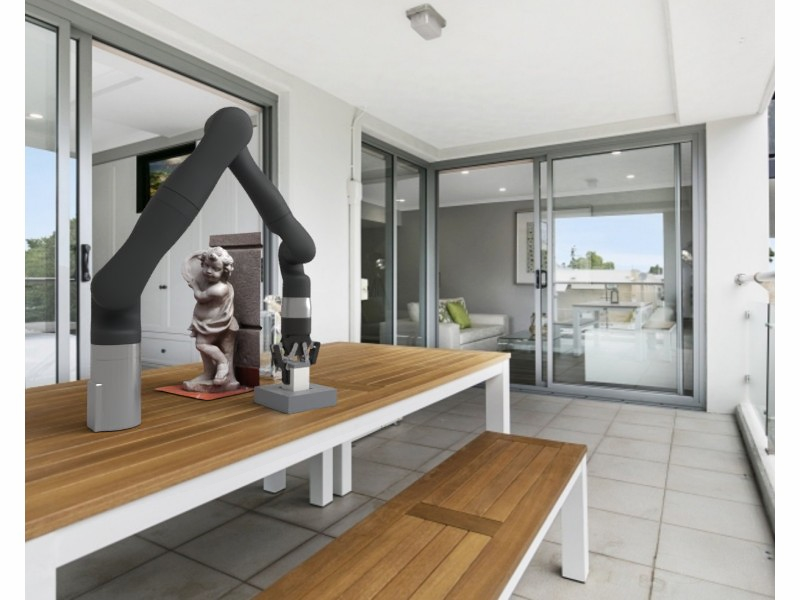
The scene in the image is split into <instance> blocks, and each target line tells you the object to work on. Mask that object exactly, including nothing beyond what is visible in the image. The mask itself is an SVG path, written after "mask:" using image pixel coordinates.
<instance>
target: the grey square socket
mask: <svg viewBox="0 0 800 600" xmlns="http://www.w3.org/2000/svg"><path fill="white" fill-rule="evenodd" d="M253 391H254V392H253V393H254V394H253V395H254V396H253V397H254V398H253V403H255V404H259V405H260V406H264V407H266V408H270V409H273V410H276V411H279V412H281V413H284V414H287V415H291V414H292V415H293V414H296V413H302V412H307V411H312V410H318V409H322V408H328V407H333V406H338V389H337V388H333V387H329V386H325V385H322V384H317V383H313V382H311V381H309V389H307V390H301V391H294V392H292V391H289V390H285V389H282V382H279V383H273V384H272V383H271V384H265V385H260V386H256V387H254V390H253Z"/></svg>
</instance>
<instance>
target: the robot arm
mask: <svg viewBox="0 0 800 600" xmlns="http://www.w3.org/2000/svg"><path fill="white" fill-rule="evenodd" d="M253 134H254V124H253V121H252V119H251V117H250V115H249V114H248V113H247V112H246V111H245V110H244V109H242V108H240V107H238V106H237V107H236V106H224V107H222V108H219V109H217V110H216V111H215V112H214V113H213V114H211V115H210V116H209V117H207V119H206V120H205V123H204V126H203V136H202V137H201V139H200V141H199V142H198V144H197V146H196V147H195V148H194V150H193V151H191V153H190V154H189V155H188V156H187V157H186V158H185V159H184V160H183V161H182V162H181V163H180V164H179V165H177V167H175V168H174V170H173V171H171V172H170V173H169V175H168V176H167V177H166V178H165V179H164V180H163V181H162V183H161V184H160V186H159V187H158V188H157V189H156V191H155V192H154V194H153V195H152V196H151V197H150V199H149V201H148V202H147V204H146V205H145V208H143V210H142V212H141V214H140V216H139V217H138V219H137V221H136V222H135V225H134V226H133V229H132V230H131V233H130V234H129V236H128V237H127V239H126V240H125V242H124V243H123V244H122V246H120V248H119V249H118V250H117V251H116V252H115V253H114V255H113V256H112V257H111V258H110V259H109V260H108V261H107V262H106V263H105V264H104V265H103V266H102V267H101V268H100V269H99V270H98V271H97V272H96V273H95V274H94V275H93V277H92V279H91V281H90V284H89V285H90V286H89V287H90V288H89V289H90V290H89V291H90V332H89V333H90V335H89V336H90V337H89V340H90V341H89V342H90V368H89V369H90V370H89V371H90V372H89V373H90V375H89V376H90V377H89V378H90V379H88V380H87V381H86V385H87V386H86V387H87V390H86V392H87V393H86V395H87V396H86V399H87V400H86V426H87V427H88V428H89V429H90V430H92V431H93V432H94V433H97V432H108V431H109V432H111V431H121V430H126V429H130V428H135V427H137V426H139V425H140V424H141V423H142V421H141V420H142V419H141V418H142V314H141V313H142V310H141V309H142V306H141V305H142V295H143V292H144V290H145V288H146V286H147V284H148V282H149V280H150V278H151V277H152V274H153V273H154V271H155V270H156V268H157V266H158V265H159V263H160V261H161V260H162V259H163V258H164V257H165V255H167V253H168V252H169V251H170V250H171V249H172V248H173V247H174V245H176V243H177V242H178V241H179V240H180V239H181V237H182V236H183V235H184V234H185V232H186V231H187V230H188V229H189V227H190V226H191V225H192V223H193V222H194V221H195V219H196V217H198V215H199V213H200V212H201V210H202V209H203V207H204V205H205V204H206V202H207V201H208V199H209V197H211V194H212V192H213V191H214V190H215V188H216V186H217V184H218V182H219V180H220V179H221V177H222V176H223V174H224V173H225V171H226V170H227V169H229V170H230V172H231V174H232V175H233V176H234V178H235V179H236V180H237V181H238V183H239V184H240V186H241V187H242V189H243V191H244V192H245V193H246V195H247V196H248V198H249V200H250V202H251V203H252V204H253V206H254V208H255V209H256V211H257V213H258V215H259V216H260V218H261V220H262V221H263V223H264V225H265V226H266V228H267V229H268V230H269V232H270V233H271V234H274V235H277V236H278V237H279V238H280V239H281V241H280V243H279V246H278V251H277V259H278V264H279V270H280V275H281V280H282V287H281V288H282V289H281V292H282V294H281V295H282V296H281V297H282V299H281V304H280V306H281V307H280V334H281V339H280V340H279V342H277V343H271V344H269V350H270V353H271V357H272V362H273V366H274V367H276V368H280V369H281V383H282V382H283V384H285V385H290V370H289V369H290V366H291V363H292V361H295V359H294V358H295V357H296V356H297V358H298V360H299V361H302V362H307V363H309V368H310V367H311V366H313V365H316V364H317V362H318V356H319V352H320V349H321V342H320V341H316V340H313V339H312V338H311V334H312V300H311V297H312V296H311V293H312V292H311V291H312V290H311V289H312V287H311V286H312V285H311V284H312V283H311V282H312V281H311V278H310V276H309V275H308V274H306V273H305V268H304V264H309V263H310V262H312V261H313V260H314V259H315V257H316V253H317V247H316V244H315V241H314V239H313V237H312V236H311V234H310V233H309V232H308V231H307V230H306V228H305V227H304V226H303V224H301V222H300V221H298V220H297V219H296V217H295V216H294V215H293V212H292V210H291V209H290V207H289V205H288V204H287V202H286V200H285V198H284V197H283V195H282V194H281V192H280V191H279V189H278V188H277V187H276V186H275V184H274V183H273V182H272V181H271V179H269V178H268V176H266V174H265V173H264V172H263V170H262V169H261V168H260V167H259V166H258V164H257V163H256V161H255V159H254V158H253V156H252V154H251V152H250V150H249V148H248V145H249V144H250V142H251V140H252V138H253ZM308 349H309V350H308ZM282 350H283V352H282Z"/></svg>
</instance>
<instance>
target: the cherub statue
mask: <svg viewBox="0 0 800 600" xmlns="http://www.w3.org/2000/svg"><path fill="white" fill-rule="evenodd" d="M208 241H209V242H208V248H207V249H198V250H195V251H193V252H190V253H189V254H187V256H186V257H185V258H184V260H183V262H182V264H181V275H182V277H183V279H184V281H186V282H187V285H188V287H189V288H191V289H192V291H193V298H194V300H196V303H195V305H194V307H193V312H192V317H191V323H190V325H189V327H188V328H187V329H186V330H187V331H190V332H191V333H190V334H189V337H190V338H195V340H194V344H195V345H194V346H195V348H196V350H197V351H198V352H199V355H200V357H201V361H202V364H203V369H204V371H203V372H201V373H200V374H198V375H197V376H196V377H195V378H192V379H190V380H189V379H188V380H185V381H183V382H182V384H177V385H176V384H175V385H167V386H161V387H156V388H155V390H157V391H163V392H168V393H172V394H176V395H181V396H185V397H192V398H195V399H201V400H204V401H205V400H206V401H209V400H215V399H218V398H224V397H228V396H233V395H238V394H243V393H246V392H250V391H254V387H256V386H261V385H260V382H261V381H260V380H261V378H260V369H261V339H260V338H261V337H260V336H261V331H263V326H261V274H262V272H261V271H262V270H261V267H262V262H261V261H262V259H261V258H262V254H261V253H262V249H263V248H264V244H262V232H261V231H256V232H255V231H254V232H253V231H251V232H240V233H228V234H223V233H222V234H212V235H209V240H208Z"/></svg>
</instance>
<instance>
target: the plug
mask: <svg viewBox="0 0 800 600" xmlns="http://www.w3.org/2000/svg"><path fill="white" fill-rule="evenodd" d="M289 370H290V385H285V384H283V382H282V381H281V383H282V389H285V390H289V391H292V392H294V391H301V390H307V389H309V382H310V367H309V363H307V362H302V361H300V360H293V361H292V363H291V366H290V369H289Z"/></svg>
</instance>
